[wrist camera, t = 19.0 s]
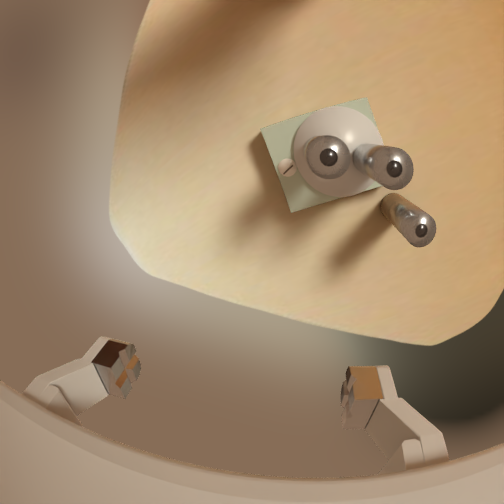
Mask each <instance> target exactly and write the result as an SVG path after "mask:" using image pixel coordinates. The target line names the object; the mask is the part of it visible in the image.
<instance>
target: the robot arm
mask: <svg viewBox="0 0 504 504" xmlns="http://www.w3.org/2000/svg"><path fill="white" fill-rule="evenodd" d="M135 352H136V349H135V346H134V345H133V344H131V343H128V342H123V341H120V340H116V339H111V338H108V337H104V336H102V337H100V338H99V339H98V340H97V341H96V342H95V343H94V344H93V346H92V347H91V348H90V349H89V351H88V352H87V353H86V354H85V355H84V356H83V358H82V359H76V360H74V361H72V362H69V363H67V364H65V365H62V366H60V367H58V368H55V369H53V370H51V371H48V372H46V373H44V374H41V375H39V376H37V377H36V378H35V379H34V380H33V381H32V383H31V384H30V385H29V386H28V387H27V389H26V390H25V391H24V392H23V393H22V394H20V393H19V392H17V391H16V390H14V389H13V388H11V387H10V386H8V385H7V384H5V383H4V382H2V381H1V380H0V504H504V443H502V444H499V445H497V446H494V447H492V448H489V449H486V450H483V451H481V452H477V453H475V454H471V455H468V456H465V457H462V458H458V459H455V460H451V461H450V460H449V456H448V452H447V449H446V445H445V441H444V438H443V434H442V433H441V432H440V431H439V430H438V429H437V428H436V427H434V426H433V425H432V424H431V423H430V422H429V421H427V420H426V419H425V418H424V417H423V416H422V415H421V414H419V413H418V412H417V411H416V410H415V409H414V408H412V407H411V406H410V405H409V404H408V403H407V402H405V400H403V399H402V398H398V397H397V393H396V389H395V385H394V382H393V378H392V375H391V371H390V368H389V366H387V365H385V366H348V368H347V371H346V380H345V381H344V382H343V385H342V388H341V406H342V407H343V408H344V410H343V413H342V428H343V429H365V431H366V432H367V434H368V435H369V436H370V437H371V439H372V440H373V441H374V443H375V444H376V445H377V446H378V447H379V449H380V450H381V451H382V453H383V454H384V455H385V456H386V458H387V459H388V460H389V461H388V462H387V463H386V464H385V466H384V467H383V468H382V469H381V470H380V471H379V473H378V475H368V476H356V477H339V478H293V477H277V476H265V475H255V474H246V473H238V472H232V471H226V470H220V469H214V468H209V467H204V466H199V465H195V464H190V463H186V462H182V461H178V460H174V459H170V458H166V457H163V456H159V455H156V454H152V453H149V452H146V451H143V450H140V449H137V448H134V447H131V446H128V445H125V444H122V443H120V442H117V441H114V440H112V439H109V438H106V437H104V436H102V435H99V434H97V433H95V432H92V431H90V430H88V429H86V428H83V427H82V423H81V422H80V420H79V419H78V417H77V415H79V414H80V413H82V412H83V411H85V410H87V409H88V408H90V407H91V406H93V405H94V404H95V403H97V402H99V401H100V400H102V399H103V398H105V397H106V396H108V394H109V395H113V396H117V397H120V398H123V399H126V397H127V395H128V394H129V392H130V390H131V389H132V386H131V383H132V382H134V381H136V380H137V379H138V377H139V375H140V370H141V364H140V361H139V358H138V357H137V356H136V355H135Z"/></svg>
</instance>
